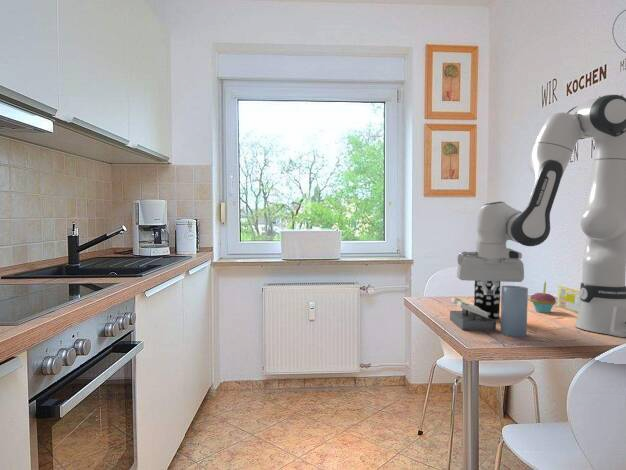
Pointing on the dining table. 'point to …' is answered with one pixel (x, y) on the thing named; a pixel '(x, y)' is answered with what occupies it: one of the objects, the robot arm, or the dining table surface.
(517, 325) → the blue cylinder
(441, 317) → the dining table surface
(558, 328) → the dining table surface
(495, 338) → the dining table surface
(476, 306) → the paddle
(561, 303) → the candy box
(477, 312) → the paddle
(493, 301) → the white-spotted black cylinder
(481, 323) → the panel
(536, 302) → the cupcake
